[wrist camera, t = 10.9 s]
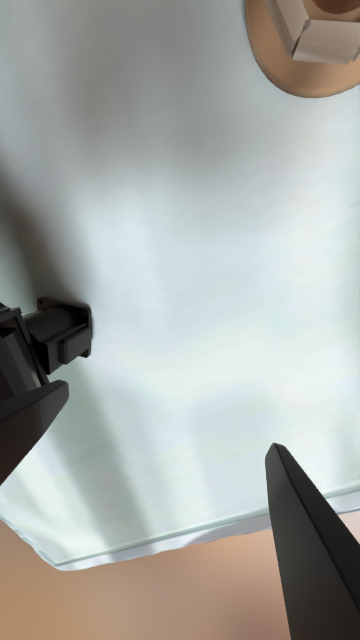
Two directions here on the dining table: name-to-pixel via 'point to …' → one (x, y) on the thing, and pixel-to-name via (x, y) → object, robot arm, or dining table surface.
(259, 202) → the dining table surface
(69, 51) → the dining table surface
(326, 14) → the flange seat
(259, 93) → the dining table surface
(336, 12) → the peach rounded knob
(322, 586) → the robot arm
